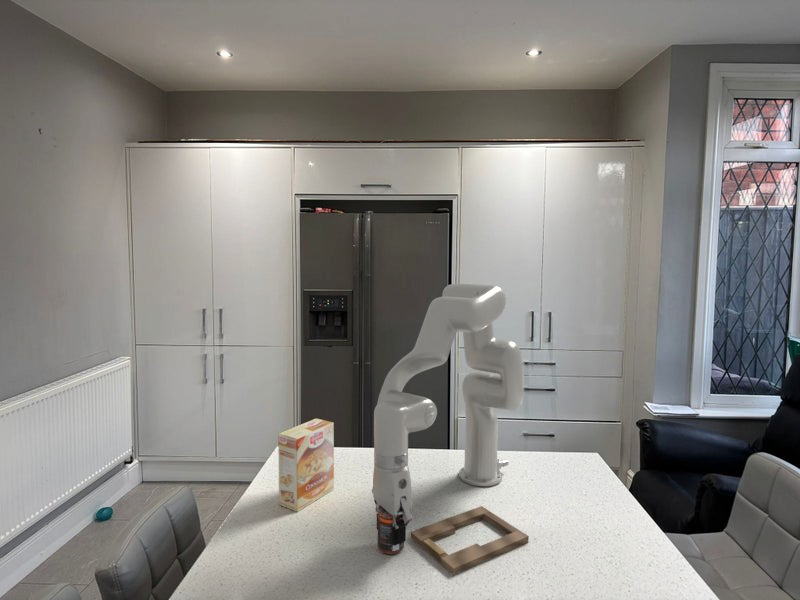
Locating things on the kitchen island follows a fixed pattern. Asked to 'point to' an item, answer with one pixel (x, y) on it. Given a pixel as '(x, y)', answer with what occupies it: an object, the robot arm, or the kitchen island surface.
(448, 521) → the wooden frame
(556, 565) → the kitchen island surface
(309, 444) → the coffeecake box
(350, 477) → the kitchen island surface
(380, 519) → the supplement bottle
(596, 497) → the kitchen island surface
